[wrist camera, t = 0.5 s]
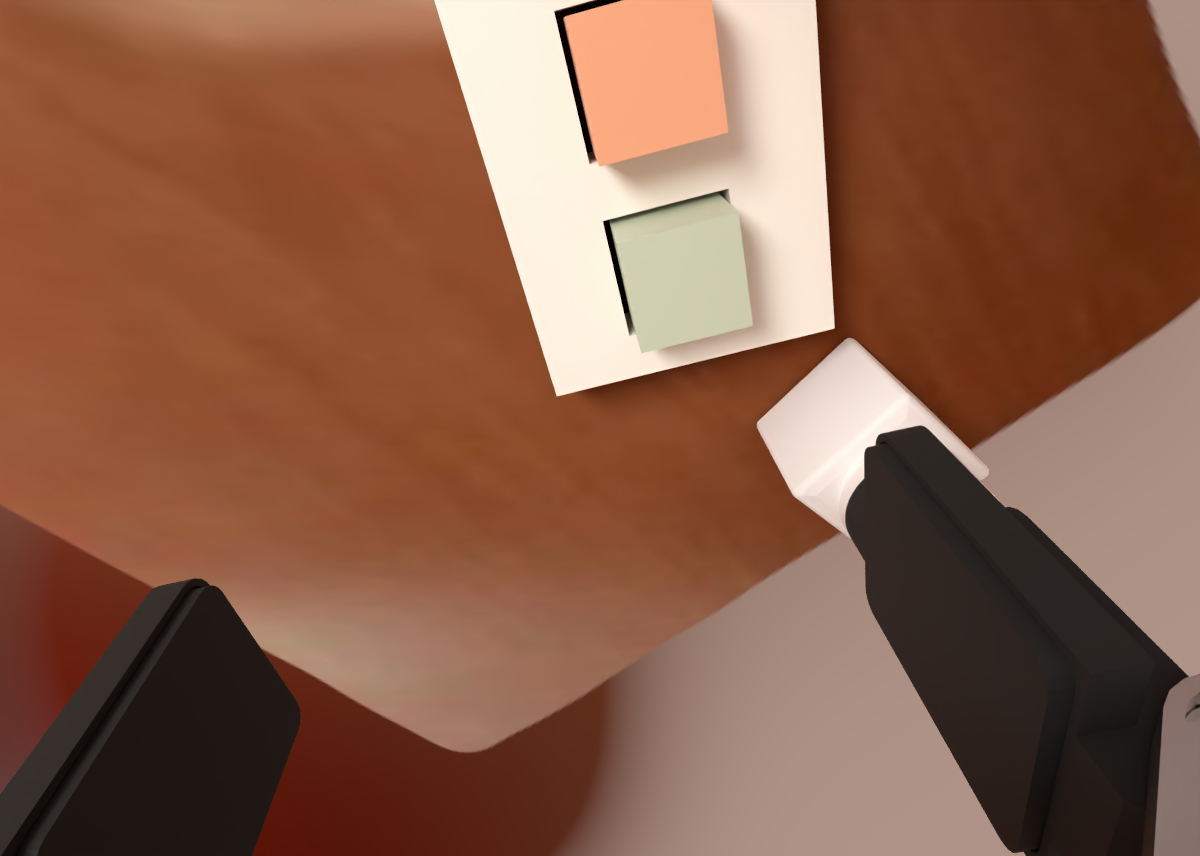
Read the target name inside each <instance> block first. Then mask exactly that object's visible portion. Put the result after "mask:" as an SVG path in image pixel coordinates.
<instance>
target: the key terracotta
mask: <svg viewBox="0 0 1200 856" xmlns="http://www.w3.org/2000/svg"><path fill="white" fill-rule="evenodd" d="M563 20H564V25H565V29H566V34H567V38H568V42H569V47H570V51H571V56H572V60H573V64H574V69H575V73H576V78H577V82H578V86H579V91H580V95H581V100H582V104H583V108H584V113H585V117H586V122H587V126H588V130H589V135H590V139H591V144H592V148H593V152H594V154H595V157H596V159H597V162H598V165H599V167H600V166H604V165H608V164H612V163H616V162H619V161H623V160H627V159H631V158H634V157H638V156H642V155H646V154H650V153H653V152H657V151H661V150H665V149H668V148H672V147H676V146H680V145H684V144H687V143H691V142H695V141H699V140H702V139H706V138H710V137H714V136H718V135H721V134H725V133H729V132H728V124H727V116H726V108H725V100H724V92H723V84H722V76H721V68H720V60H719V53H718V45H717V37H716V29H715V21H714V13H713V5H712V0H622V1H619V2H615V3H612V4H608V5H604V6H601V7H597V8H594V9H590V10H587V11H583V12H579V13H576V14H572V15H569V16H565V17H564V18H563Z"/></svg>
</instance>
